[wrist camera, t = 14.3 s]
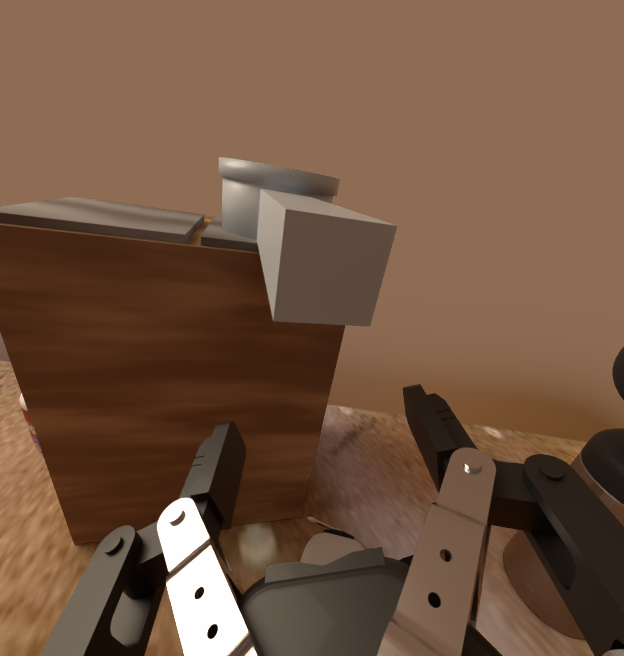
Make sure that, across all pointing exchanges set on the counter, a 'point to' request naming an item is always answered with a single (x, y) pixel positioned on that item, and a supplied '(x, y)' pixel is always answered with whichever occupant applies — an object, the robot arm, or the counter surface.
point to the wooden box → (155, 360)
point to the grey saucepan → (307, 242)
